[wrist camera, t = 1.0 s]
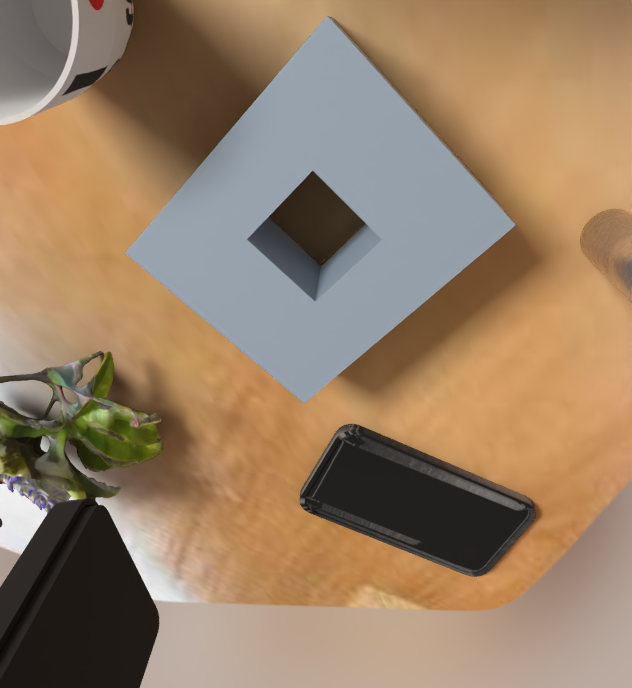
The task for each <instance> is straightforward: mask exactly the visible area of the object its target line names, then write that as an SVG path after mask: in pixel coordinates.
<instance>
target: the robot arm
mask: <svg viewBox="0 0 632 688" xmlns="http://www.w3.org/2000/svg"><path fill="white" fill-rule="evenodd" d="M158 629H159V614H158V610H157V608H156V606H155V604H154V602H153V600H152V598H151V596H150V594H149V592H148V590H147V588H146V586H145V584H144V582H143V580H142V578H141V576H140V574H139V572H138V570H137V568H136V566H135V564H134V562H133V560H132V558H131V556H130V554H129V552H128V550H127V548H126V546H125V544H124V542H123V540H122V538H121V536H120V534H119V532H118V530H117V528H116V526H115V524H114V522H113V520H112V518H111V516H110V514H109V512H108V510H107V509H106V507H104V506H103V505H98V504H97V502H96V501H95V500H93V499H92V498H85V499H78V500H71V501H64V502H59V503H56V504H55V505H54V506H53V507H52V508H51V509H50V511H49V512H48V514H47V516H46V517H45V519H44V520H43V522H42V523H41V525H40V526H39V528H38V530H37V531H36V533H35V534H34V536H33V537H32V539H31V541H30V542H29V544H28V545H27V547H26V548H25V550H24V551H23V553H22V555H21V556H20V558H19V559H18V561H17V562H16V564H15V565H14V567H13V569H12V570H11V572H10V573H9V575H8V576H7V578H6V579H5V581H4V583H3V584H2V586H1V587H0V688H140V685H141V681H142V679H143V676H144V673H145V670H146V667H147V664H148V661H149V657H150V655H151V652H152V648H153V645H154V643H155V639H156V637H157V633H158Z"/></svg>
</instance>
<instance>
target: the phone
mask: <svg viewBox="0 0 632 688" xmlns="http://www.w3.org/2000/svg"><path fill="white" fill-rule="evenodd" d="M300 504H301V506H302V508H303V509H304V510H305V511H307V512H309V513H311V514H314V515H316V516H319V517H321V518H324V519H326V520H329V521H331V522H334V523H336V524H339V525H341V526H344V527H346V528H349V529H352V530H354V531H357V532H359V533H362V534H364V535H367V536H369V537H372V538H374V539H377V540H379V541H382V542H384V543H387V544H389V545H392V546H394V547H397V548H399V549H402V550H404V551H407V552H410V553H412V554H415V555H417V556H420V557H422V558H425V559H427V560H430V561H432V562H435V563H437V564H440V565H442V566H445V567H447V568H450V569H452V570H455V571H457V572H460V573H462V574H465V575H468V576H474V577H477V576H482V575H484V574H486V573H487V572H488V571H489V570H490V569H491V568H492V567H493V566H494V565H495V564H496V563H497V561H498V560H499V559H500V558H501V557H502V556H503V555H504V554H505V552H506V551H507V550H508V549H509V548H510V547H511V546H512V545H513V543H514V542H515V541H516V540H517V539H518V538H519V537H520V536H521V534H522V533H523V532H524V531H525V530H526V529H527V528H528V526H529V525H530V524H531V523H532V522H533V521H534V519H535V517H536V511H535V508H534V505H533V502H532V501H531V500H530V498H528V497H526V496H524V495H522V494H520V493H517V492H515V491H512V490H510V489H508V488H505V487H503V486H501V485H498V484H496V483H494V482H491V481H489V480H487V479H484V478H482V477H480V476H477V475H475V474H473V473H470V472H468V471H465V470H463V469H461V468H458V467H456V466H454V465H451V464H449V463H447V462H444V461H442V460H440V459H437V458H435V457H433V456H430V455H428V454H426V453H423V452H421V451H418V450H416V449H414V448H411V447H409V446H407V445H404V444H402V443H400V442H397V441H395V440H393V439H390V438H388V437H386V436H383V435H381V434H379V433H376V432H374V431H371V430H369V429H367V428H364V427H362V426H360V425H356V424H348V425H344V426H342V427H340V428H339V429H338V430H337V431H336V433H335V434H334V436H333V438H332V439H331V441H330V443H329V444H328V446H327V448H326V449H325V451H324V453H323V454H322V456H321V458H320V459H319V461H318V463H317V464H316V466H315V468H314V469H313V471H312V472H311V474H310V476H309V477H308V479H307V481H306V482H305V484H304V486H303V487H302V490H301V494H300Z"/></svg>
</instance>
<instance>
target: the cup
mask: <svg viewBox="0 0 632 688" xmlns="http://www.w3.org/2000/svg"><path fill="white" fill-rule="evenodd" d="M133 22H134V7H133V1H132V0H0V125H5V124H10V123H14V122H18V121H20V120H23V119H25V118H28V117H30V116H33V115H35V114H38V113H40V112H42V111H45V110H47V109H50V108H52V107H55V106H57V105H59V104H62V103H64V102H67V101H69V100H71V99H73V98H75V97H77V96H79V95H80V94H82V93H83V92H85V91H86V90H87V89H88V88H90V87H91V86H92V85H93V84H95V83H96V82H97V81H98V80H100V79H101V78H102V77H103V76H105V75H106V74H107V73H108V72H109V71H111V70H112V69H113V68H114V67H115V65H116V64H117V63H118V62H119V60H120V59H121V57H122V55H123V53H124V51H125V49H126V47H127V44H128V41H129V38H130V35H131V32H132V28H133Z"/></svg>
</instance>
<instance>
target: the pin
mask: <svg viewBox="0 0 632 688" xmlns="http://www.w3.org/2000/svg"><path fill="white" fill-rule="evenodd" d="M580 244H581V249H582V251H583V253H584V254H585V256H586V257H587V258H588V259H589V260H590V261H591V262H592V263H593V264H594V265H595V266H596V267H597V268H598V269H599V270H600V271H601V272H602V273H603V274H604V275H605V276H606V277H607V278H608V279H609V280H610V281H611V282H612V283H613V284H614V285H615V286H616V287H617V288H618V289H619V290H620V291H621V292H622V293H623V294H624V295H625V296H626V297H627V298H628V299H629V300H630V301H631V302H632V214H630V213H629V212H627V211H624V210H620V209H610V210H606V211H603V212H601V213H599V214H597V215H596V216H594V217H593V218H592V219H591V220H590V221H589V222H588V223H587V224H586V226H585V227H584V229H583V231H582V234H581V239H580Z"/></svg>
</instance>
